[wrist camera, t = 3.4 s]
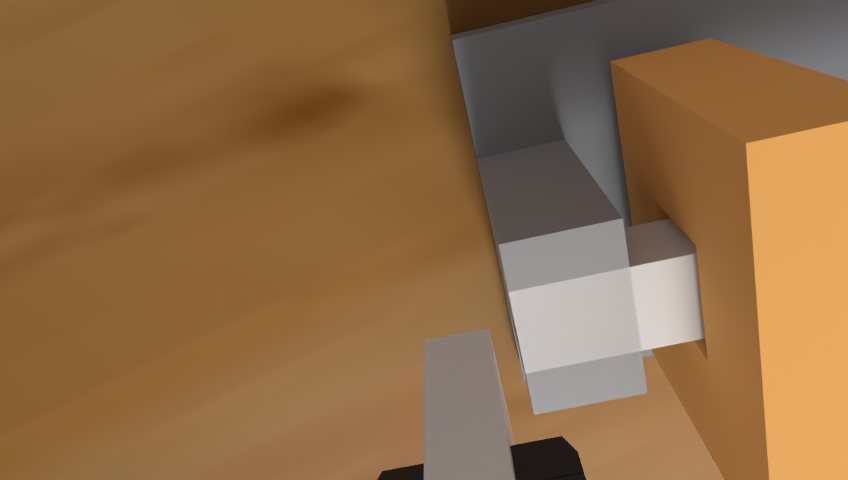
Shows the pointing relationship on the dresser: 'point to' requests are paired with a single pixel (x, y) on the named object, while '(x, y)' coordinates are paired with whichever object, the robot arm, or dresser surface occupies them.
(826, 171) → the slotted orange slab
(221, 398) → the dresser surface
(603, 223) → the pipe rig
